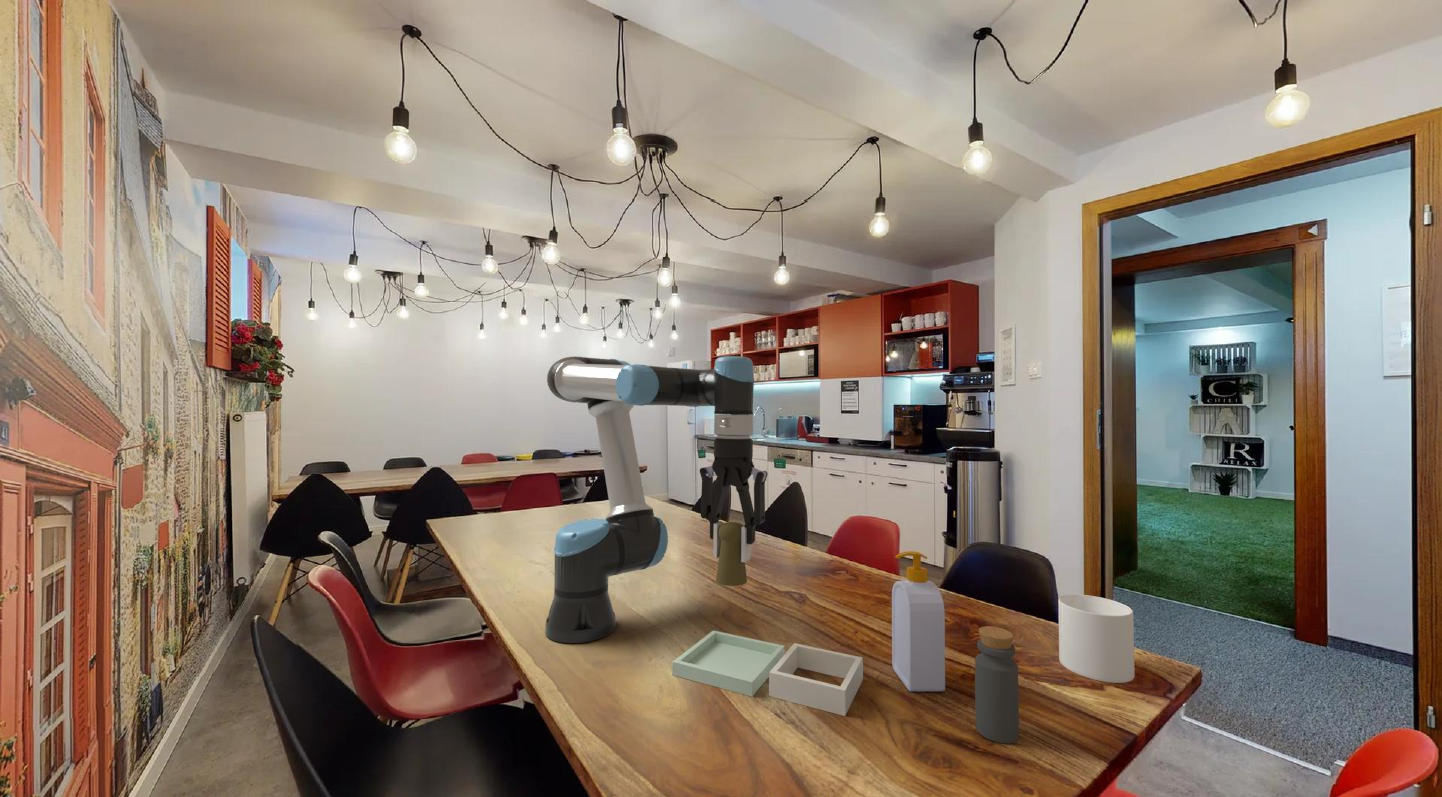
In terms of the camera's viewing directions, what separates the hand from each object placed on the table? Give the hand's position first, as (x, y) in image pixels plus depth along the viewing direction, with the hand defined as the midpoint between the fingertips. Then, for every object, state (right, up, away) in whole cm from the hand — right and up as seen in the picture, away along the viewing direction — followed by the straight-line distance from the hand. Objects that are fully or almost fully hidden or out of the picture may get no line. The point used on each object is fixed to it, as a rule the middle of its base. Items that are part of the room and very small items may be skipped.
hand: (731, 558), depth 101 cm
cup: (+69, -21, 0) cm, 73 cm away
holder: (+15, -20, -8) cm, 26 cm away
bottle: (+40, -20, -21) cm, 49 cm away
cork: (0, -4, 0) cm, 4 cm away
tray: (0, -20, -1) cm, 20 cm away
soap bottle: (+33, -21, -5) cm, 40 cm away
